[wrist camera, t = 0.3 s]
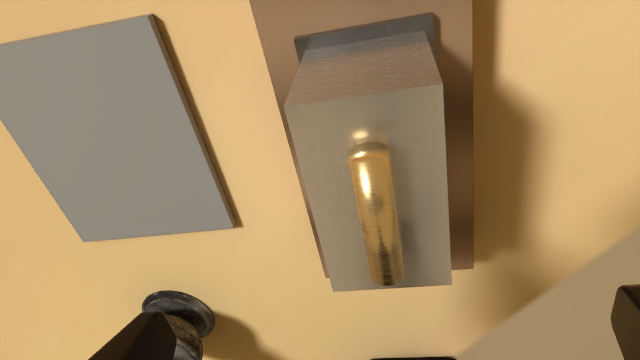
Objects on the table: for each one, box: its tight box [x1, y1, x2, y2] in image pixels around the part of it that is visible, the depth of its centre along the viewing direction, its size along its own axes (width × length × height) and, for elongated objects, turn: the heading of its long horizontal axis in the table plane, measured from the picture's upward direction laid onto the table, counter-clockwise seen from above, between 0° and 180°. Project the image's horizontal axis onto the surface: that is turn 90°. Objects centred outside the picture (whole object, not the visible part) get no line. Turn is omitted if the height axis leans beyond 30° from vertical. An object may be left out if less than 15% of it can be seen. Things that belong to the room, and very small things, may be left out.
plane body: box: [249, 0, 473, 278], centre depth 19 cm, size 18×8×2 cm, turn 12°
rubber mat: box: [0, 14, 236, 242], centre depth 23 cm, size 12×10×1 cm
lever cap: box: [284, 31, 452, 292], centre depth 16 cm, size 8×4×6 cm, turn 12°
